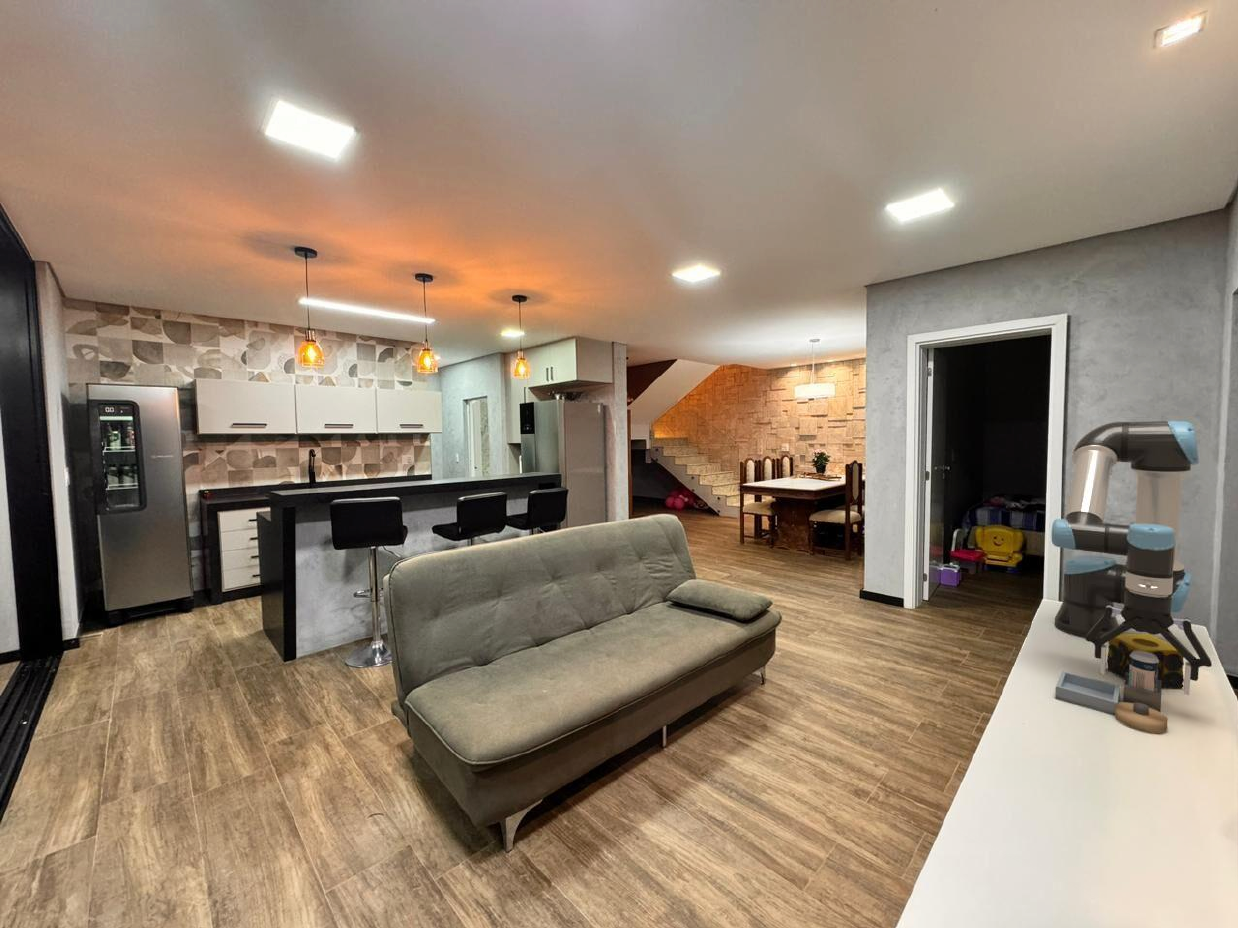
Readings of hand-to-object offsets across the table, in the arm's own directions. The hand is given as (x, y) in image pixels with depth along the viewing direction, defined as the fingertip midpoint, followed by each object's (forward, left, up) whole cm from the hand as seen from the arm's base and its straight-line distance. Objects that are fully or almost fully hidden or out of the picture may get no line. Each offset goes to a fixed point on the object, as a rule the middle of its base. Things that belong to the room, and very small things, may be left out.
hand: (1142, 682), depth 120 cm
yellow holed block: (-16, 0, -6) cm, 17 cm away
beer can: (0, 0, -6) cm, 6 cm away
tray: (+5, -9, -5) cm, 12 cm away
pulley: (+10, 0, -5) cm, 12 cm away
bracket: (0, 0, -5) cm, 5 cm away
